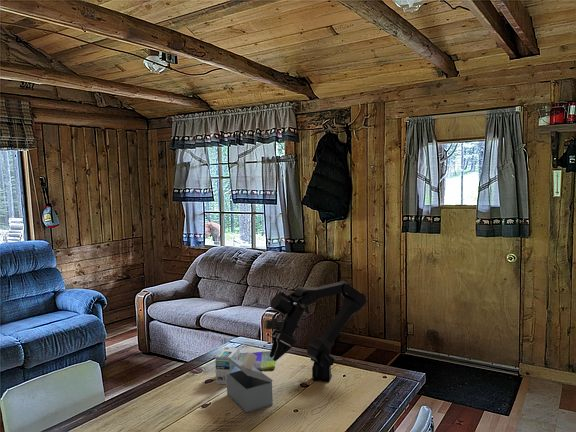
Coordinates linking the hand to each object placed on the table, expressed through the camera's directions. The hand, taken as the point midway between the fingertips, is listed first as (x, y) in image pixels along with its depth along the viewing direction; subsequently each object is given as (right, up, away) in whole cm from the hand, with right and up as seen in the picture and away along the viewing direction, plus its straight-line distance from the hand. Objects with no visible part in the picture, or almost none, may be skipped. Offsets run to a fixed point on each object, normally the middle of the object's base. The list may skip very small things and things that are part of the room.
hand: (272, 358), depth 165 cm
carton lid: (-8, -3, -5) cm, 10 cm away
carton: (-8, -13, -4) cm, 16 cm away
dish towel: (-11, -12, +29) cm, 34 cm away
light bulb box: (-18, -12, +14) cm, 26 cm away
